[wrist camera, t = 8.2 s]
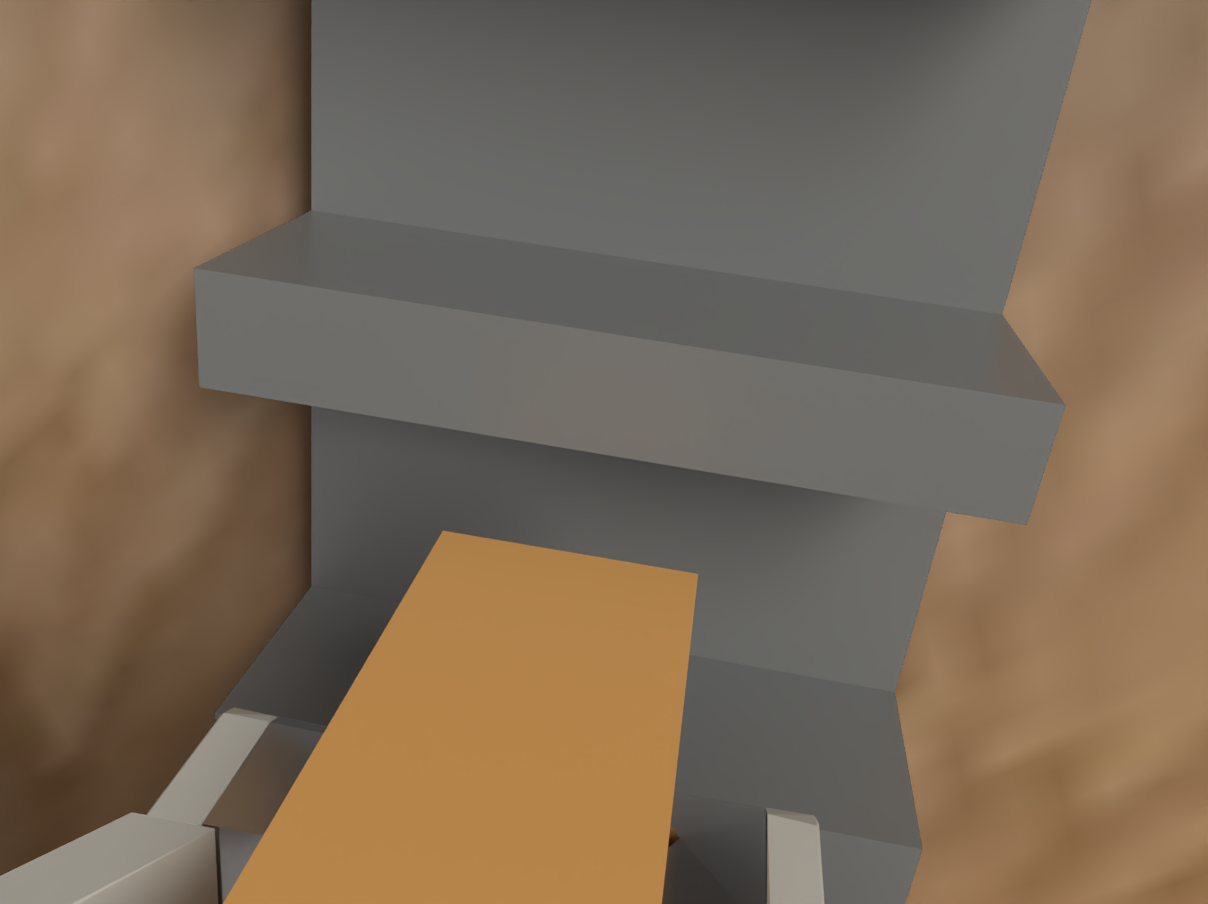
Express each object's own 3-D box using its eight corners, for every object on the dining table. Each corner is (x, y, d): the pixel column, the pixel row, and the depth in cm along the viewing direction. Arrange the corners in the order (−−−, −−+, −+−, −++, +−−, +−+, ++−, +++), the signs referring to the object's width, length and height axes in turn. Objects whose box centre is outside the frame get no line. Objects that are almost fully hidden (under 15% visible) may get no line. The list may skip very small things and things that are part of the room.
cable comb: (1131, -219, 13) (1296, -311, 9) (800, 978, 22) (806, 1209, 18) (341, -304, 14) (161, -425, 10) (329, 881, 22) (232, 1080, 18)
